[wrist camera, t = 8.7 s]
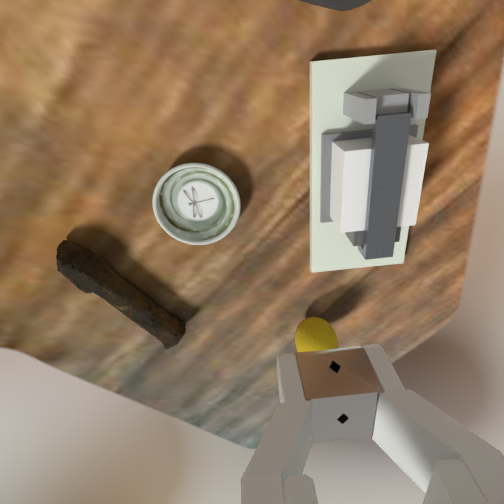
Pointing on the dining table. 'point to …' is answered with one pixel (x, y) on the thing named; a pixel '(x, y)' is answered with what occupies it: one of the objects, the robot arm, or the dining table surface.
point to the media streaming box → (338, 4)
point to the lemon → (315, 335)
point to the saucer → (196, 203)
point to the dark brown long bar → (117, 292)
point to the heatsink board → (332, 120)
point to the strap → (385, 183)
